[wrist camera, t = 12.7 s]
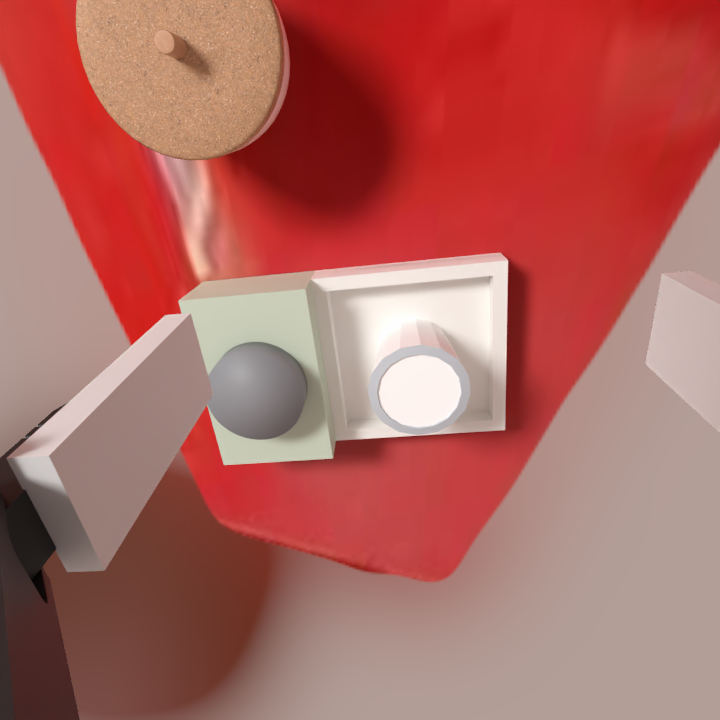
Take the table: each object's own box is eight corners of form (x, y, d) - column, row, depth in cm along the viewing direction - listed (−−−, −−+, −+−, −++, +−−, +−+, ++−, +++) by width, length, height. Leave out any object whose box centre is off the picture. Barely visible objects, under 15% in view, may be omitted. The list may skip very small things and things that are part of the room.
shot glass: (371, 388, 40) (368, 435, 33) (370, 309, 37) (367, 345, 31) (454, 389, 39) (467, 436, 33) (460, 309, 37) (475, 345, 30)
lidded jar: (216, 187, 35) (160, 202, 26) (110, 42, 31) (6, 5, 23) (337, 93, 32) (318, 77, 23) (234, -78, 28) (169, -171, 20)
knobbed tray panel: (203, 281, 38) (166, 310, 31) (500, 252, 36) (524, 277, 29) (241, 431, 44) (215, 480, 37) (498, 414, 41) (518, 463, 35)
